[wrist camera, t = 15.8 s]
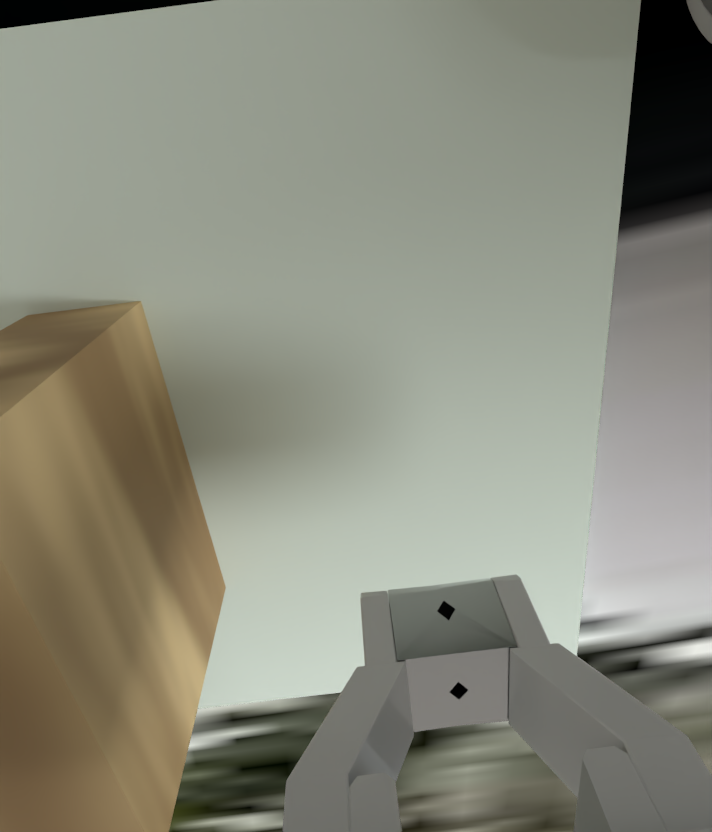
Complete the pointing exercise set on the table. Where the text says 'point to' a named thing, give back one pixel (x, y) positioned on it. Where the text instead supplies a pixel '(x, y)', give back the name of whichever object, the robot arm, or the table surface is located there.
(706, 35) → the game controller
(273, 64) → the mat
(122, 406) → the wood tile
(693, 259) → the table surface
